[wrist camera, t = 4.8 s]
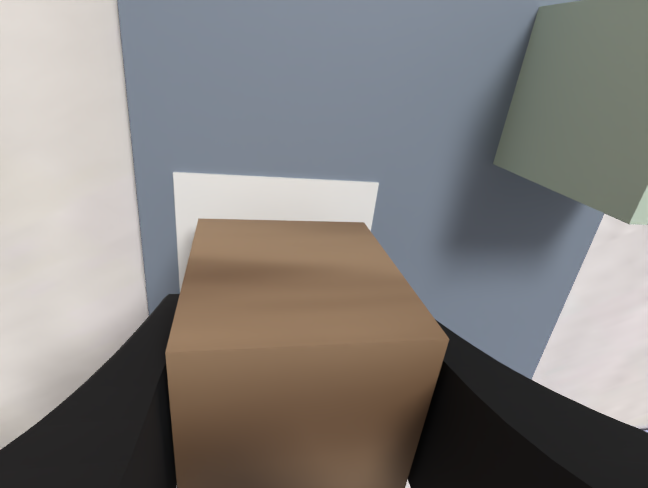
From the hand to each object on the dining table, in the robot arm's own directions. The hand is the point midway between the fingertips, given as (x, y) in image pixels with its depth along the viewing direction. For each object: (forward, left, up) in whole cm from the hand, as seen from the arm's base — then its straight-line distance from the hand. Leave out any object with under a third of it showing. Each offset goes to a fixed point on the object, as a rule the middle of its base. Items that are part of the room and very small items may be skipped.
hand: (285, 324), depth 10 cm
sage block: (+6, -9, -3) cm, 11 cm away
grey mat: (0, -4, -4) cm, 5 cm away
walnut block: (0, 0, -2) cm, 2 cm away
